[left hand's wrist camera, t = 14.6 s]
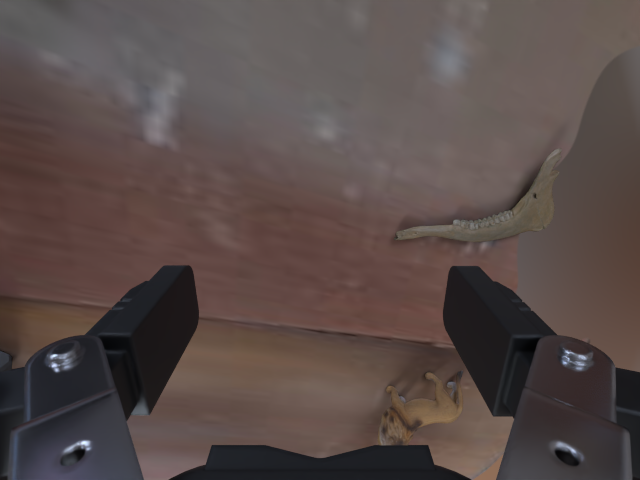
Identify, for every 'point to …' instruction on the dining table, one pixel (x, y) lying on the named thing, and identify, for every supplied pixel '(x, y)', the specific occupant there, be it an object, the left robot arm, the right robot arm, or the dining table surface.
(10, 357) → the handheld gaming console
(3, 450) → the left robot arm
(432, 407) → the lion figurine
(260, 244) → the dining table surface
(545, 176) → the jawbone
